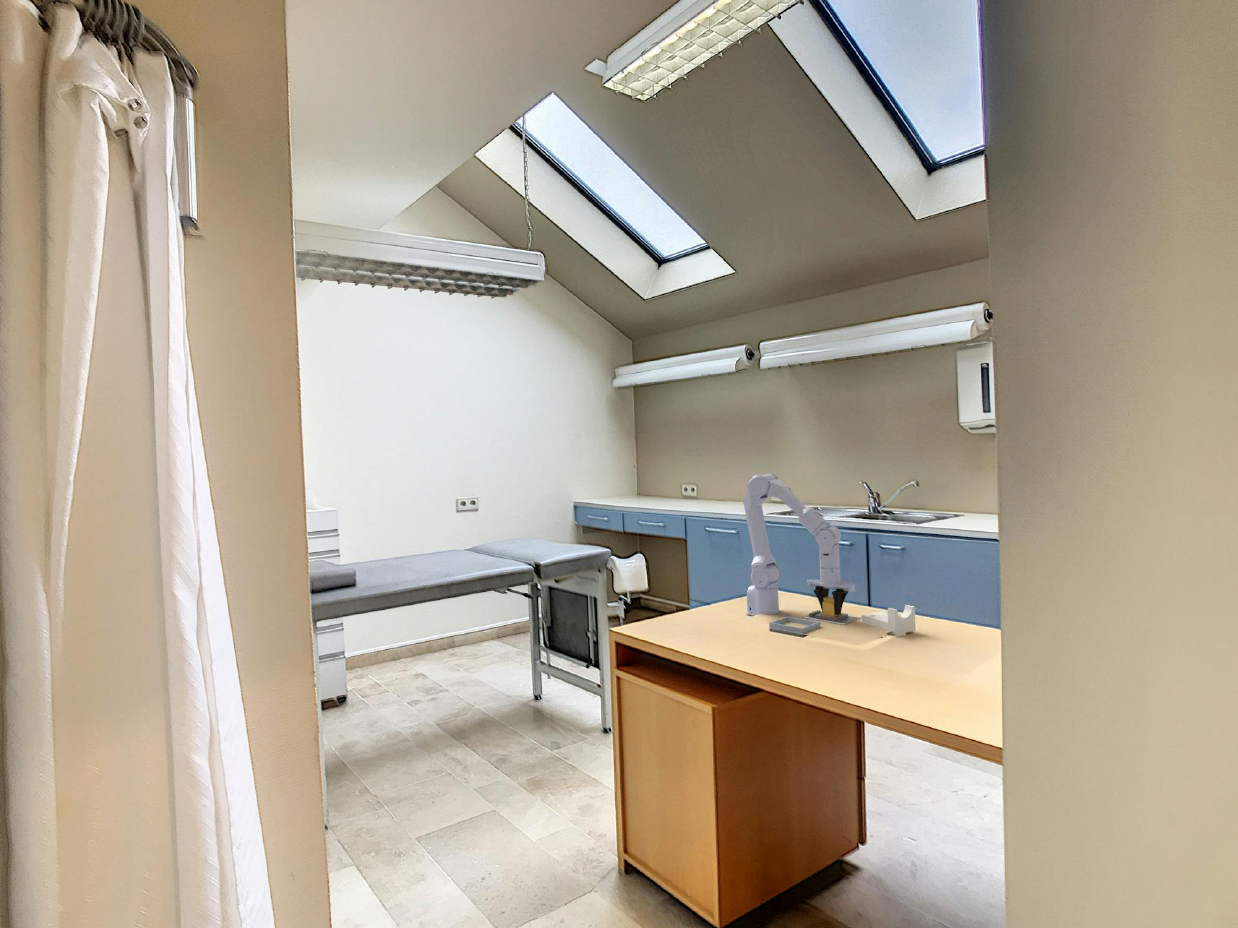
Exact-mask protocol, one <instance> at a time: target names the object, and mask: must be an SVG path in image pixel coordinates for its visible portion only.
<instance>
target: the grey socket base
mask: <svg viewBox="0 0 1238 928" xmlns="http://www.w3.org/2000/svg"><path fill="white" fill-rule="evenodd" d="M802 619H805V620H811V621H817V622H823V623H830V624H835V625H841V626H847V625H848V624H851V623H854V622H856V621H858V620H862V617H857V616H851V615H849V613H843V612H841V614H840V616H837V617H829V616H823V613H822V610H819V609H817V610H815V611H812V612H809V613H808V615H806V616H803V617H802Z"/></svg>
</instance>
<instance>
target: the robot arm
mask: <svg viewBox="0 0 1238 928" xmlns="http://www.w3.org/2000/svg"><path fill="white" fill-rule="evenodd" d="M768 497H771V498H778V499H779V500H780V501H781V502H783V503H784V504H785V505H786V506H787V507H789V509H791V510H792V511H793V512H794V513H795V514H796V515H797V516H798V522H799V523H800V524H801V525H802V526H803V527H804V528H805V529H806V530H807V531H808V532H810V534H811V535H812V536H813V537H815V542H816V544H817V545H818V548H819V554H818V555H819V557H818V558H819V578H820V579H807V580H806V583H807V584H806V586H807V587H809V588H811V587H813V588H815V589H813V593H814V594H815V596H816V599H817V600H818V602H819V605H820V608H821V612H822V613H823V603H822V602H824V601H823V598H824V597H827V596H829V595H830V594H829V592H830V590H833V591H831V595H832V597H833V599H834V606H835V615H839V614H841V613H842V609H843V605H844V601H845V599H846V597H847V596H848V594H849V593H853V592H855V591H856V588H855V586H856V584H853V583H849V582H848V583H847V582H844V581H841V559H840V542H841V540H842V533H841V531H840V529H839V528H838V526H836V525H832V523H831V522H830V521H827V520H826V519H825V518H824V517H823V516H821V515H820V511H819V510H818V509H815V508H813V507H806V505H805V504H804V503H803V502H802V501H801V500H800V499H799V498H798V497H797V496H796V495H795V494H794V492H793V491H791V490H790V488H788V487H787V486H786V484H785V482H784V481H783V480H781V479H780V478H778V476H777V475H776V474H775V473H771V472H769V473H766V474H756V475H753V476H752V477H751V478H750V479H749V481H748V482H747V483H746V491H745V494H744V498H743V506H744V507H743V508H744V511H745V518H746V524H747V528H748V534H749V538H750V545H751V550H752V555H753V559H752V562H751V565H750V566H751V572H750V581H751V583H752V585H750V586H749V587H748V588H747V591H746V608H747V609H746V610H747V611H746V613H745V614H746V615H747V616H751V617H755V616H758V615H760V614H761V615H774V614H775V615H776V614H778V613H779V612H780V602H779V601H780V600H779V583H778V581H779V580H780V578H781V577H782V575H781V569H780V567H779V566H778V564H777V562H776V558H775V557H774V556H773V555H772V553H771V547H770V542H769V537H768V532H767V526H766V521H765V516H764V510H763V504H764V502H765V501H766V500H767V499H768Z"/></svg>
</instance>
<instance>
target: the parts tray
mask: <svg viewBox="0 0 1238 928" xmlns="http://www.w3.org/2000/svg"><path fill="white" fill-rule="evenodd" d="M787 622H789V623H794V624H799V625H805V626H804V627H798V626H793V625H786V624H785V623H787ZM768 624H769V628H768V629H769V632H773V633H776V634H782V635H788V636H793V637H796V638H797V637H798V638H806V637H808V636H810V635H809V634H805V633H809V632H810V631H814V630H816V629H819V628H821V621H817V620H811V619H805V618H797V617H792V616H785V617H781V618H778V619H776V620H772V621H770V622H769V623H768Z"/></svg>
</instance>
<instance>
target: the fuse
mask: <svg viewBox="0 0 1238 928" xmlns="http://www.w3.org/2000/svg"><path fill="white" fill-rule="evenodd" d="M823 601H824V602H822V603H823V616H829V617H837V616H840V614H839V615H835V606H834V599H833V596H829V595H828V596H827V597H824V598H823Z"/></svg>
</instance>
